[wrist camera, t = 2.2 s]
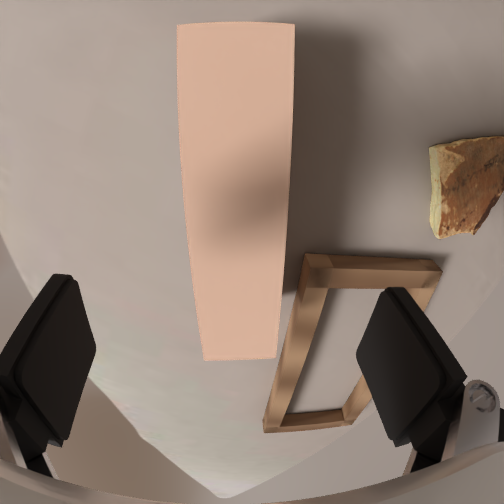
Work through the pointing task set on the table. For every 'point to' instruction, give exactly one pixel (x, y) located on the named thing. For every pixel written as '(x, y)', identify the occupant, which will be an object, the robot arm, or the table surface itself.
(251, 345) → the pink rectangular block
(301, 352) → the brown wooden frame
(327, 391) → the table surface
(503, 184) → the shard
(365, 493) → the robot arm
